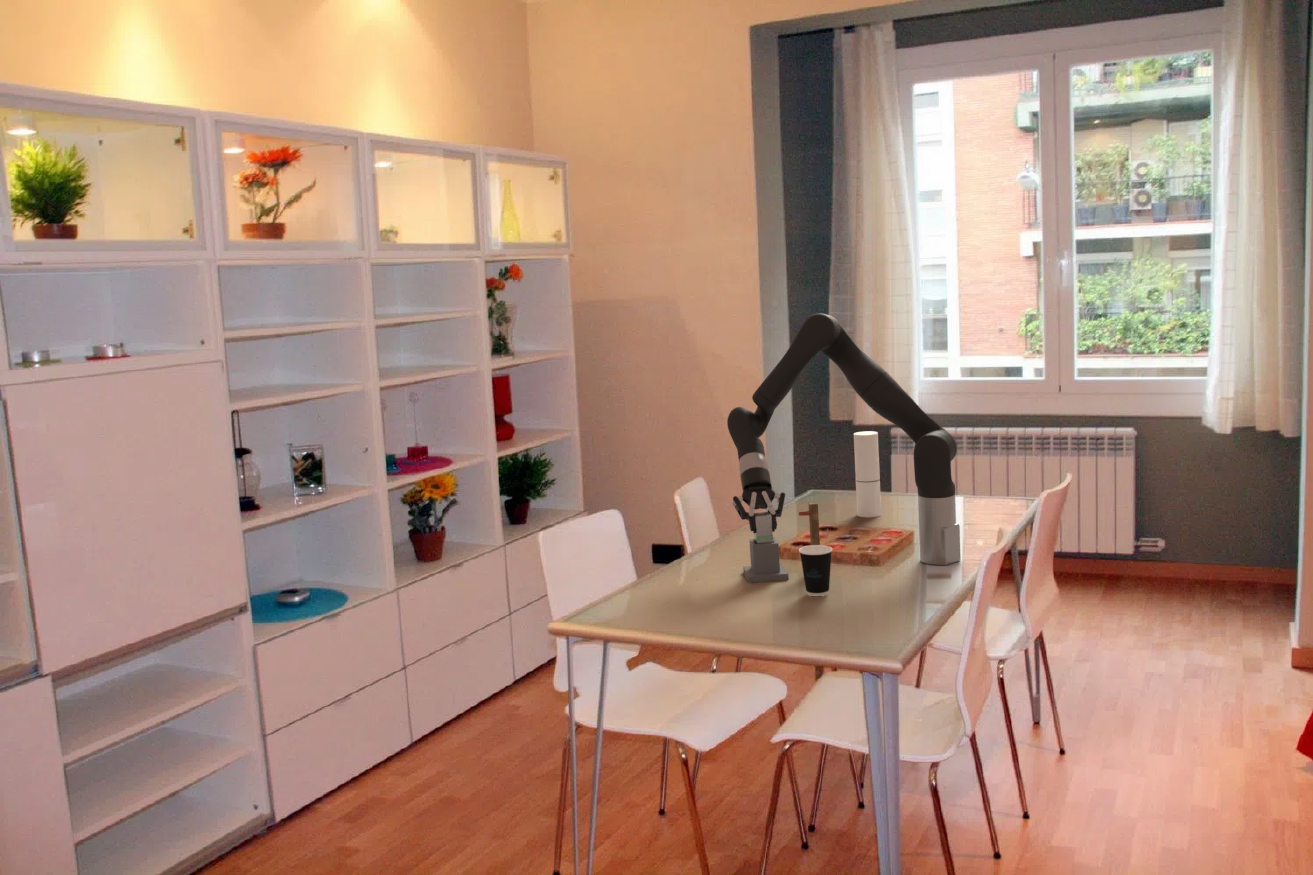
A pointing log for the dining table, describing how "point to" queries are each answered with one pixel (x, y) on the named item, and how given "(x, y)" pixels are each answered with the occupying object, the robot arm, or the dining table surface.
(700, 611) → the dining table surface
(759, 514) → the steel column
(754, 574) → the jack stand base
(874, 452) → the cylindrical container
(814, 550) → the dixie cup
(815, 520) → the height gauge
